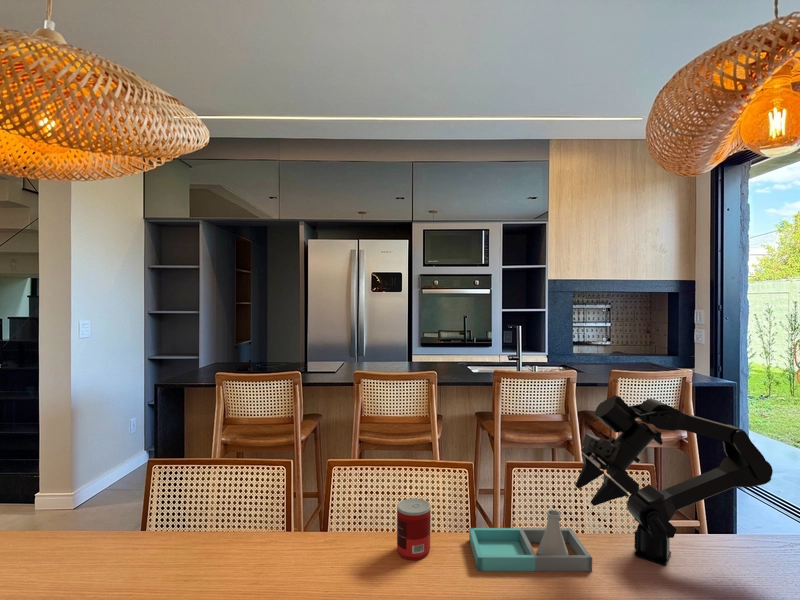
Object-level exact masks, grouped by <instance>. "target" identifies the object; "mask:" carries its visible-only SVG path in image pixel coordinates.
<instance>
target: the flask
mask: <svg viewBox="0 0 800 600" xmlns="http://www.w3.org/2000/svg"><path fill="white" fill-rule="evenodd" d="M561 514H562V513H561V512H560V511H559V510H557V509H547V510H546V515H547V522H546V527H545V528H546V530H545V532H544V535H543V538H542V540H541V542H539V545H538V548H537V552H536V554H537V555H570V554H569V550H568V548H567V545H566V543H565V542H564V539H563V536H562V533H561V529H560V528H561V525H560V517H561Z"/></svg>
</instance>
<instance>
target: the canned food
mask: <svg viewBox="0 0 800 600" xmlns="http://www.w3.org/2000/svg"><path fill="white" fill-rule="evenodd" d="M431 521H432V520H431V504H430V502H429V501H427V500H425V499H421V498H406V499H403V500H401V501H399V502H398V503H397V508H396V550H397V553H398V555H399V556H400V558H401V557H402V558H403V559H406V560H410V561H413V560H414V561H418V560H422V559H424V558H426V557H428V555H429V554H430V550H431Z"/></svg>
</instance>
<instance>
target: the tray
mask: <svg viewBox="0 0 800 600" xmlns="http://www.w3.org/2000/svg"><path fill="white" fill-rule="evenodd" d="M560 529H561V533H562V536H563V539H564V542H565V544H566V543H568V544H569V546H570V547H571V549H572V550H573V551H574V554H569V555H538V554H537V553H536V552H535V550H534V548H533V545H532V544H531V543H540V542H541V540H542V538H543V535H544V532H545V530H546V527H544V528H542V527H541V528H538V527H534V528H533V527H524V528H523V527H469V532H468V533H469V536H468V537H469V543H470V548H471V551H472V556H473V558H474V562H475V565H476V570H477V572H593V557H592V555H591V554H590V553H589V551H588V550H587V549H586V547H585V546H584V544H583V543H582V541H581V540H580V539H579V537H578V536H577V535H576V533H575V531H574V530H573V529H572V528H571V527H570V528H569V527H568V528H567V527H564V528H563V527H560Z"/></svg>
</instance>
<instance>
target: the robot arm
mask: <svg viewBox="0 0 800 600" xmlns="http://www.w3.org/2000/svg"><path fill="white" fill-rule="evenodd" d="M594 415H595V417H597V418H598V419H599V420H600V421H601V422H602V423H603V424H604V425H606V426H607V428H609V429H610V430H611V431H613V432H614V433H619V435H618V436H617V437H616V438H614V437H609V438H608V439H605V438H603V437H598V436H596V435H593V434H591V433H587V432H586V433H585V435H584V438H583V440H582V443H581V447H582V448H581V450H580V451H581V452H582V453H581V457H582V463H583V466H582V467H581V470H580V473H579V476H578V477H577V480H576V482H575V487H576V488H577V489H578V490H580V489H581V488H584V487H585V486H586V485H588V484H589V483H591V482H593V481H595V480H596V479H597V478H599V477H601V476H602V475H603V483H602V485H601V486H600V487H599V488H598V490H597V492H596V493H595V494H594V496H593V497H592V498H591V500H590V504H591V505H592V506H593V507H595V506H597V505H602V504H605V503H607V502H609V501H610V502H611V501H613V500H616V499H620V498H622V497H628V499H627V502H626V507H627V510H628V512H629V514H630V515H632V516H633V519H634V521H635V522H637V523H638V525H637V527H636V530H635V531H634V544H633V545H634V547H633V548H634V550H635V552H634V556H635V557H638V558H641V559H643V560H647V561H651V562H654V563H657V564H659V565H663V566H667V565H668V562H669V560H670V557H671V555H672V551H671V549H670V547H671V546H670V544H671V543H670V542H671V541H670V540H671V539H674V537H675V535H676V532H677V528H676V527H675V526H674V525H673V524H672V523H671V522H670V521H671V519H672V518H673V516H674V515H675V514H676V512H677V511H679V510H681V509H684V508H687V507H688V506H689V507H690V506H691V505H694V504H696V503H698V502H701V501H704V500H706V499H708V498H710V497H713V496H716V495H718V494H720V493H723V492H726V491H728V490H730V489H733V488H754V487H758V486H763V485H766V484H768V483H770V482H771V481H772V476H773V467H772V465H771V463H770V462H768V460H767V459H766V458H765V456H764V455H763V453H762V452H761V451H760V450H759V448H757V446H756V445H755V444H754V443H753V442H752V441H751V438H750V437H749V435H748V433H747V432H746V431H745V430H744V429H741V428H739V427H738V426H737V427H736V426H734V425H731V424H725V423H721V422H718V421H715V420H714V421H713V420H710V419H706V418H703V417H700V416H695V415H693V414H691V413H690V414H688V413H685V412H683V411H681V410H679V409H677V408H675V407H672V405H669V404H666V403H664V402H661V401H659V400H657V399H654V398H647V399H645V400H644V401H643V402H641V403H639V404H635V405H628V404H627V403H626V402H625V401H624V400H623V398H622V397H620V396H619V395H617V394H613V395H612V396H611V397H609V398H607V399H605V400H603V401H602V402H600V403H599V404H598V406H597V407H596V409H595V410H594ZM636 419H637V420H639V421H641V422H638V421H637V420H636ZM648 424H649V425H651V426H653V427H655V428H657V429H653V428H651V427H650V426H649V425H648ZM658 429H659V430H662V431H672V432H676V431H684V432H688V433H693V434H697V435H700V436H703V437H706V438H711V439H713V440H716V441H717V440H718V441H722V444H723V445H722V446H723V451H724V453H725V455H726V456H725V457H724V458H723V460H722V461H721V463H720V464H719V466H718V467H716V468H713V469H711V470H709V471H706V472H704V473H701V474H699V475H697V476H694V477H691V478H689V479H686V480H684V481H682V482H679V483H677V484H675V485H672V486H670V487H666V488H664V489H656V488H655V487H654V486H653V485H652V484H648V485H645V486H644V487H642V488H640V484H639V483H638V482H637V481H636V480H634V479H633V478H632V477H631V476H630V475H629V473H628V472H627V469H628V468H629V467H630V466H631V465H632V464H633V463H634V462H635V463H636V464H639V462H641V459H640V458H639V456H640V455H641V454H642V452H643V451H645V449H646V448H648V446H649V445H650V443H652V441H653V442H655V443H656V444H658V445H660V446H662V445H663V439H662V438H663V437H662V432H661V431H659V430H658ZM604 471H607V472H606V473H605V472H604ZM608 475H609V476H608Z"/></svg>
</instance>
